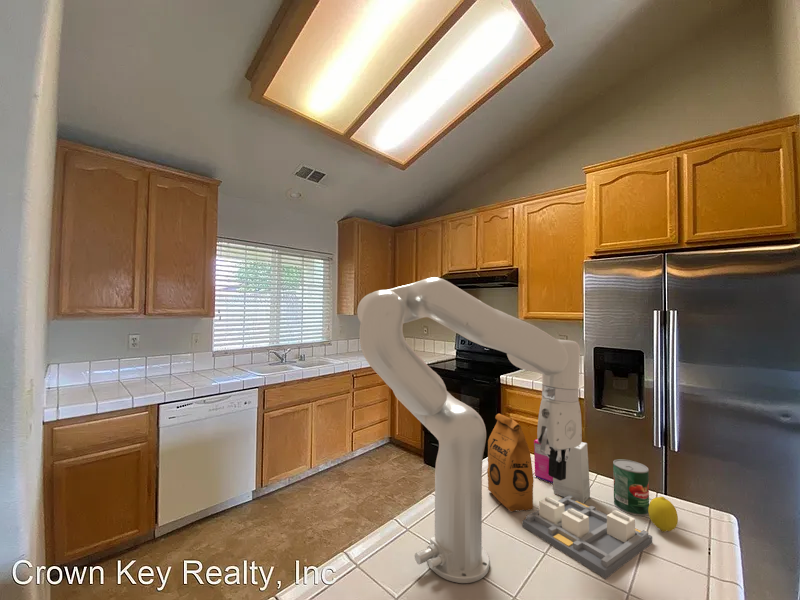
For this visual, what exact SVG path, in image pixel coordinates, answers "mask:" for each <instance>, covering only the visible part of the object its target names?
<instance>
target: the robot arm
mask: <svg viewBox="0 0 800 600" xmlns="http://www.w3.org/2000/svg"><path fill="white" fill-rule="evenodd" d="M356 311H357V318H358V321H359V323H360V325H359V344H360V348H361V351H362V354H363V356H364V358H365V360H366V362H367V363H368V365H369V366H370V367H371V369H372V370H373V371H374V372H375V373H376V374H377V375H378V376H379V378H381V379H382V381H383V382H384V383H385V384H386V385H387V387H389V388H390V389H391V390H392V392H393V395H394V396H395V399H397V401H399V402H400V403H401V404H402V405H403V406H404V407H405V408H406V409H407V410H408V411H409V412H410V413H411V414H412V415H413V416H414V417H415V418H416V419H417V420H418V421H419V422H420V423H421V425H423V426H424V427H425V428H426V429H427V430H428V432H430V433H431V434H432V435H433V436H434V437H435V439H436V440H437V441H438V451H437V455H436V460H435V469H434V535H433V536H432V537H430V538H429V539H430V543H429V544H428V545H427V546H426V549H422V550H420V551H418V552H416V553H415V554H414V559H415V563H416V564H417V565H419V566H420V565H422V564H424V563H426V562H427V563H428V567H429V568H430V569H431V570H432V571H433V572H434V574H436V575H437V576H438V577H441V578H442V579H444V580H447V581H450V582H453V583H457V584H458V583H459V584H469V583H470V584H471V583H474V582H478V581H480V580H481V579H483V578H484V577H485V576H487V574H488V572H489V570H490V562H491V561H490V556H489V554H488V552H487V550H486V549H485V548H484V547H483V545H482V543H483V542H482V541H483V540H482V538H483V537H482V533H483V532H482V528H483V527H482V521H483V518H482V517H483V516H482V515H483V514H482V511H483V508H482V507H483V506H482V504H483V501H482V499H483V495H482V493H483V490H482V489H483V486H482V485H483V482H482V481H483V478H482V477H483V461H484V460H483V458H484V452H485V447H486V443H487V429H486V424H485V422H484V419H483V418H482V416H481V415H480V414H479V412H477V410H475V409H474V408H473V407H472V406H470V405H468V404H466V403H465V402H463V401H460V400H459V399H457V398H455V397H454V396H453V395H452V394H451V393H450V392H449V391H448V390H447V387H446V384H445V382H444V380H443V379H442V377H441V376H440V375H439V374H438V373H437V372H436V371H435V370H433V369H432V368H431V367H430V366H429V365H428V364H427V363H426V362H425V361H424V360H423V359H422V358H421V357H420V356H419V355H418V354H417V352H415V350H414V349H413V347H411V346H410V345H409V343H408V342H407V340H406V338H405V336H404V333H403V332H404V331H403V328H404V327H403V325H404V324H405V323H406V324H407V323H410V322H413V321H416V320H419V319H423V318H428V319H431V320H433V321H434V322H437V323H438V324H440V325H442V326H444V327H445V328H446V329H449V330H450V331H452V332H454V333H456V334H458V335H460V336H461V337H462V338H465V339H466V340H468V341H469V342H473V343H475V344H477V345H479V346H483V347H486V348H489V349H493V350H496V351H499V352H502V353H505V354H506V356H507V358H508V360H509V363H511V364H512V365H513V366H515V367H516V368H519V369H521V370H525V371H529V372H534V373H538V374H541V375H542V380H541V381H542V383H541V384H542V385H541V386H542V387H541V401H540V405H539V411H538V420H537V430H536V431H537V432H536V435H537V439H538V442H539V443H540V444H541V448H540V451H541V452H543V453H545V454H547V457H548V458H549V471H548V474H549V476H551V477H553V478H556V479H558V480H560V481H561V480H564V479H566V461H567V460H568V454H569V451H570V450H571V449H573V448H574V447H577V446H579V445H580V444H581V442H583V439H582V438H583V436H582V435H583V434H582V433H583V431H582V430H583V429H582V427H583V426H582V413H581V404H580V401H579V394H580V393H579V392H580V388H579V387H580V360H581V358H580V357H581V349H580V348H581V347H580V344H579V343H578V342H577V341H575V340H570V339H560V338H559V339H558V338H556V337H554V336H552V335H550V334H549V333H547V332H546V331H544V330H542V329H541V328H539V327H537V326H536V325H533V324H532V323H529V322H527V321H524V320H522V319H520V318H517V317H516V316H513V315H510V314H509V313H506V312H504V311H502V310H500V309H497V308H495V307H494V308H493V307H492V306H490V305H489V304H486V303H485V302H484V301H482V300H480V299H478V298H476V297H475V296H473V295H472V294H470V293H468V292H466V291H465V290H463V289H461V288H459V287H458V286H456V285H455V284H453V283H452V282H450V281H448V280H446V279H444V278H441V277H436V276H435V277H428V278H424V279H421V280H419V281H415V282H412V283H409V284H405V285H401V286H397V287H393V288H389V289H379V290H375V291H373V292H370V293H368V294H366V295H365V296H364V297H362V298H361V300H360V301H359V303H358V305H357V309H356ZM553 449H554V450H553Z"/></svg>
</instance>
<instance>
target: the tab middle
mask: <svg viewBox="0 0 800 600" xmlns="http://www.w3.org/2000/svg"><path fill="white" fill-rule="evenodd" d="M562 529H564V530H566V531H568V532H570V533H571V534H573V535H575V536H577V537H578V538H582V537H583V536H585V535H587V534H588V533H589V516H587V515H585V514H583V513H581V512H579V511H577V510H575V509H573V508H571V509H570V508H569V509H567V511H565V512H563V513H562Z"/></svg>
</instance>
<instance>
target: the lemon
mask: <svg viewBox="0 0 800 600" xmlns="http://www.w3.org/2000/svg"><path fill="white" fill-rule="evenodd" d="M648 512H649V514H648V517H649V519H650V521H651V523H652V524H653V525H654V526H655V528H658V529H659V530H660V531H661V532H662V533H665V532H671V531H673V530H675V529H676V528H677V526H678V523H679V522H678V521H679V518H678V511H677V509H676V506H674V504H673V503H672V502H671V501H670V500H668V499H667V498H665V497H664V496H656V497H654V498H652V499H651V500H650V501H649V508H648Z"/></svg>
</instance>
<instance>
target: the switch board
mask: <svg viewBox="0 0 800 600" xmlns="http://www.w3.org/2000/svg"><path fill="white" fill-rule="evenodd" d="M557 501H558V502H560V503H562V504H564V505H565V511H567V509H569V508H570V509H571V508H573V509H575V510H577V511H579V512H581V513H583V514H585V515H587V516H589V533H588V534H587V535H585V536H583V537H582V538H578V537H577V536H575V535H573V534H571V533H570V532H568V531H566V530H564V529H562V521H561V522H559V523H557V524H554V523H552V522H550V521H548V520H547V519H545V518H543V517H541V516H539V509H537V510H535V511H533V512H531V513H529V514H527V515H526V516H525V517H526V518H525V519H522V528H523V529H526V530H527V531H528V532H530V533H532V534H533V535H535V536H536V537H538V538H540V539H541V540H543V541H545V542H546V543H548V544H550V546H552V547H554V548H556V549H557V550H559V551H560V552H562V553H564V554H565V555H567V556H568V557H570V558H572V559H573V560H574V561H576V562H578V563H579V564H581V565H583V566H585V567H586V568H588V569H589V570H590V571H593V572H594V573H596V574H597V575H599V576H600V577H602V578H604V579H605V580H606V579H608V577H610V576H611V575H613V574H614V573H616V571H618V570H619V569H620V568H622V567H623V566H624V565H626V564H627V563H628V562H629V561H631V560H632V559H633V558H635V557H636V556H637V555H639V554H640V553H642V552H643V551H644V550H645V549H647V548H648V547H649V546H650V545H652V544H653V536H652V535H650V533H649V531H647V530H645V529H642V530H639V529H638V528H636V527H635V536H634V537H632V538H631V539H630V540H628V541H627V542H625V543H624V542H622V541H620V540H618V539H616V538H615V537H613V536H611V535H609V534H607V515H608V514H606V513H604V512H603V511H600V510H598V509H596V507H595V506H593V505H590V506H589V505H587V504H586V503H581V502H579V501H577V500H575V499H573V497H572V496H570V495H569V496H567V497H563V498H561V499H559V500H557Z"/></svg>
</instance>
